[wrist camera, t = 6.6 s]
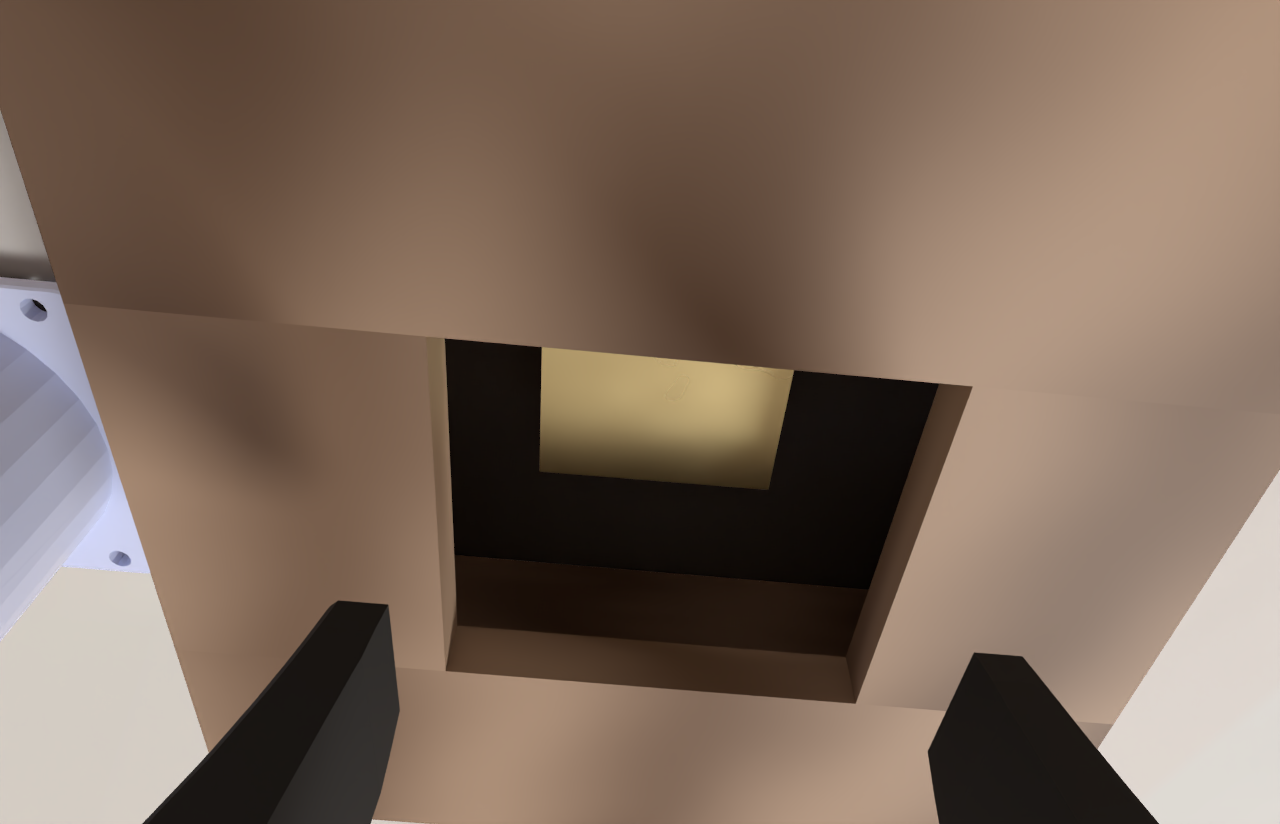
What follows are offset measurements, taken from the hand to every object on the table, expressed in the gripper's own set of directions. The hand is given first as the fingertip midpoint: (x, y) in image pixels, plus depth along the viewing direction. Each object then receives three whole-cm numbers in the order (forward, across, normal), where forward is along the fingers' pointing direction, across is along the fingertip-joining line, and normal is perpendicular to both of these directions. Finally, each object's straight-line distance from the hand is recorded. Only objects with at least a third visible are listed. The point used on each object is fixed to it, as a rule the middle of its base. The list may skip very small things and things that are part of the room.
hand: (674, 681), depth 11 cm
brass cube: (+9, 0, 0) cm, 9 cm away
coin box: (+9, 0, 0) cm, 9 cm away
